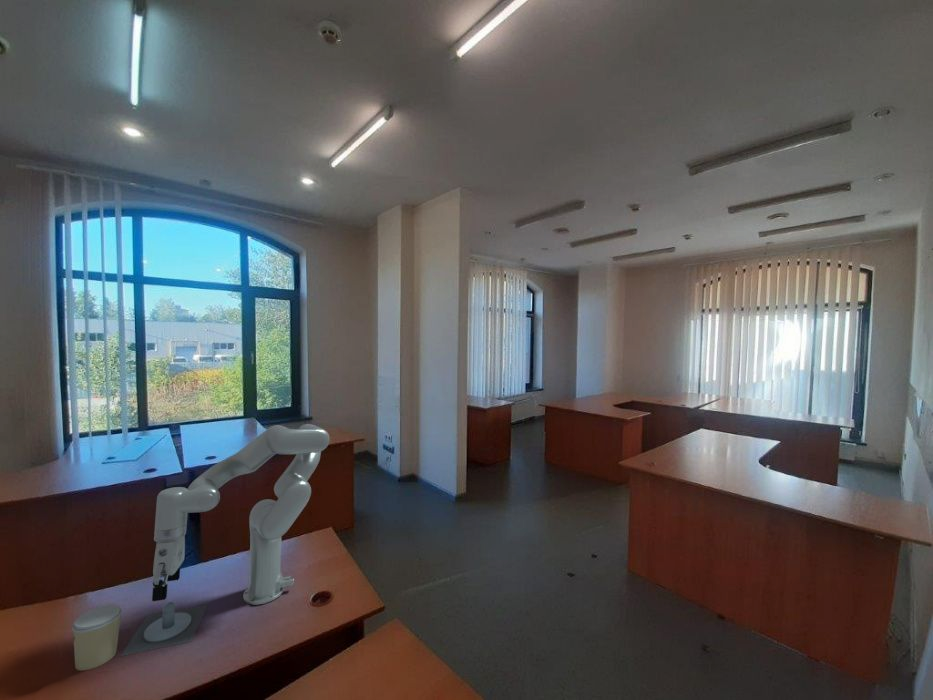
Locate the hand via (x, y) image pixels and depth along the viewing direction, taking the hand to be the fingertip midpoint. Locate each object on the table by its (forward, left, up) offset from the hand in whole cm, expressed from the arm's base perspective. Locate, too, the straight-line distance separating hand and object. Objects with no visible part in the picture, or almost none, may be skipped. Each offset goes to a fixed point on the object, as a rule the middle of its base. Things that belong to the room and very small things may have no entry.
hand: (166, 589), depth 109 cm
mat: (-1, 0, -12) cm, 12 cm away
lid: (-1, 0, -12) cm, 12 cm away
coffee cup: (+13, +6, -13) cm, 19 cm away
